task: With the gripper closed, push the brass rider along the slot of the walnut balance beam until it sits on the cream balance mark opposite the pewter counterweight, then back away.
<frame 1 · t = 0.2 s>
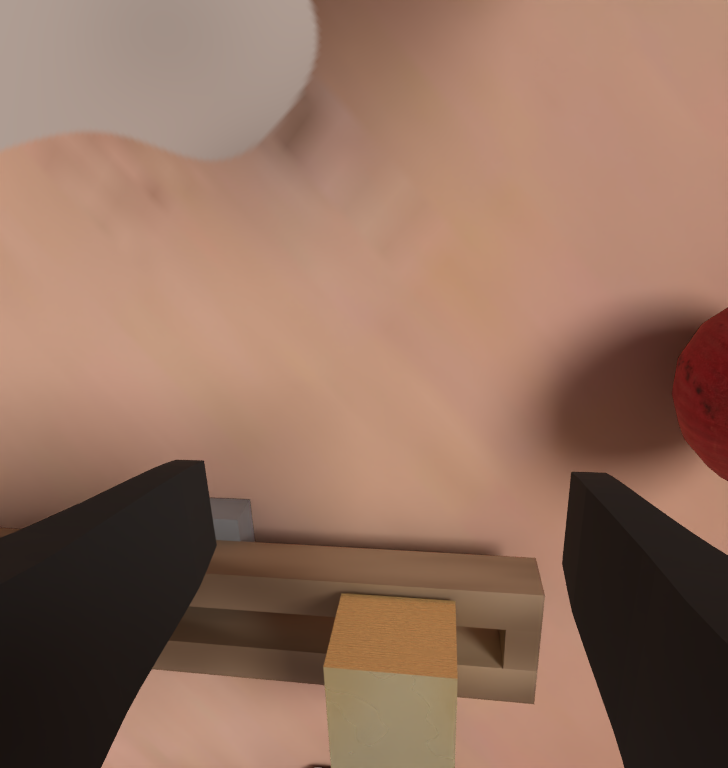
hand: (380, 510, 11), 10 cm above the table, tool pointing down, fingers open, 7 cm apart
onion: (725, 353, 19), on the table
beam: (204, 564, 25), on the table
rider: (396, 660, 19), point 4 cm above the table, slide at -9.0 cm
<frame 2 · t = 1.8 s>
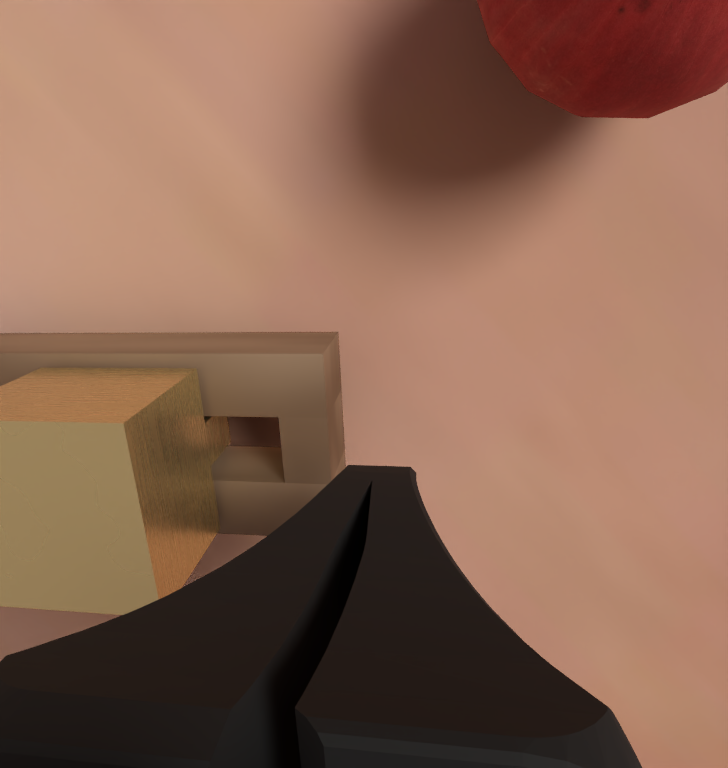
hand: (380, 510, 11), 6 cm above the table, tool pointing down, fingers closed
rider: (119, 463, 13), point 4 cm above the table, slide at -9.0 cm
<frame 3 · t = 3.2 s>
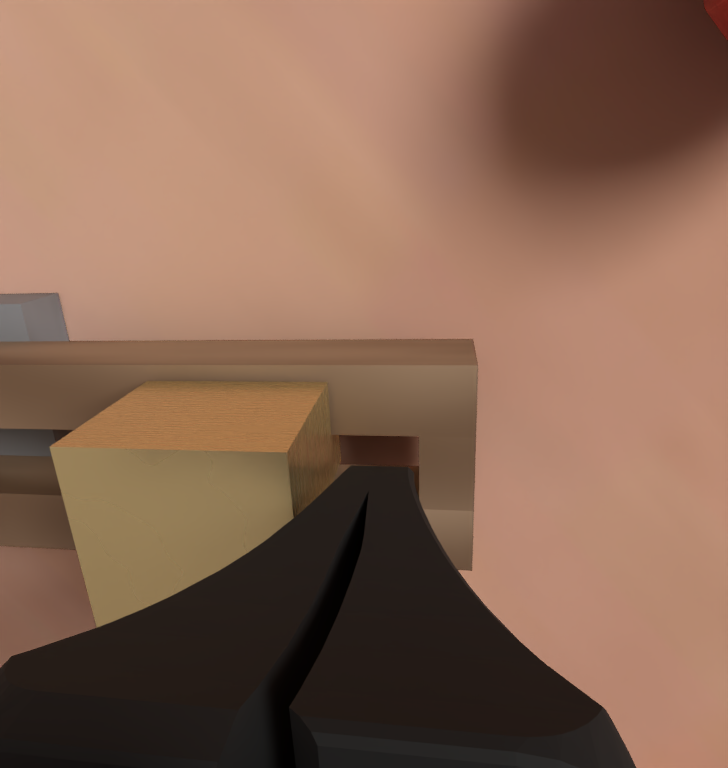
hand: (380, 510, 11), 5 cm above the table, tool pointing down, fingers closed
beam: (10, 406, 17), on the table
rider: (236, 488, 12), point 4 cm above the table, slide at -8.9 cm, touching gripper
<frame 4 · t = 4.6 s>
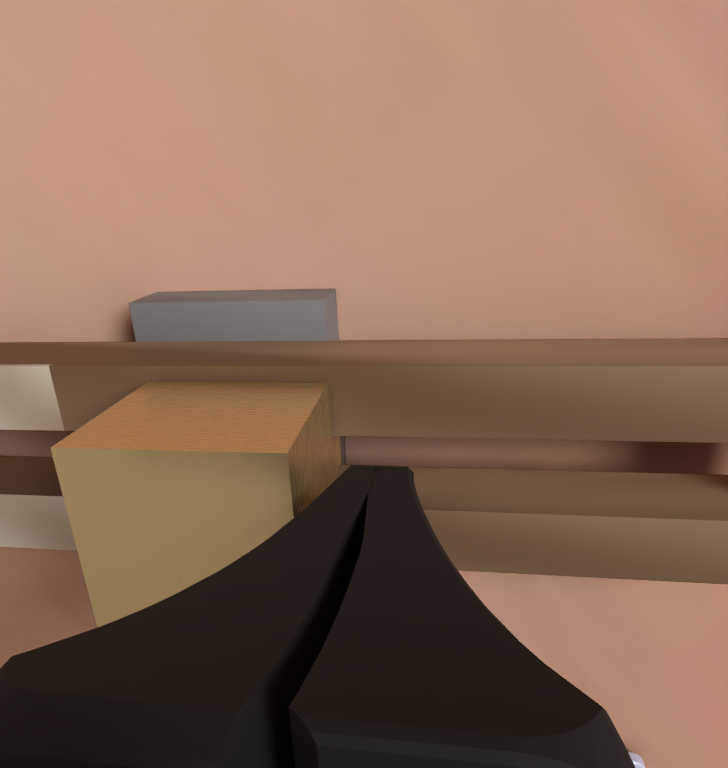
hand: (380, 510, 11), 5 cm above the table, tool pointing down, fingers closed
beam: (258, 410, 16), on the table
rider: (237, 489, 12), point 4 cm above the table, slide at -0.9 cm, touching gripper
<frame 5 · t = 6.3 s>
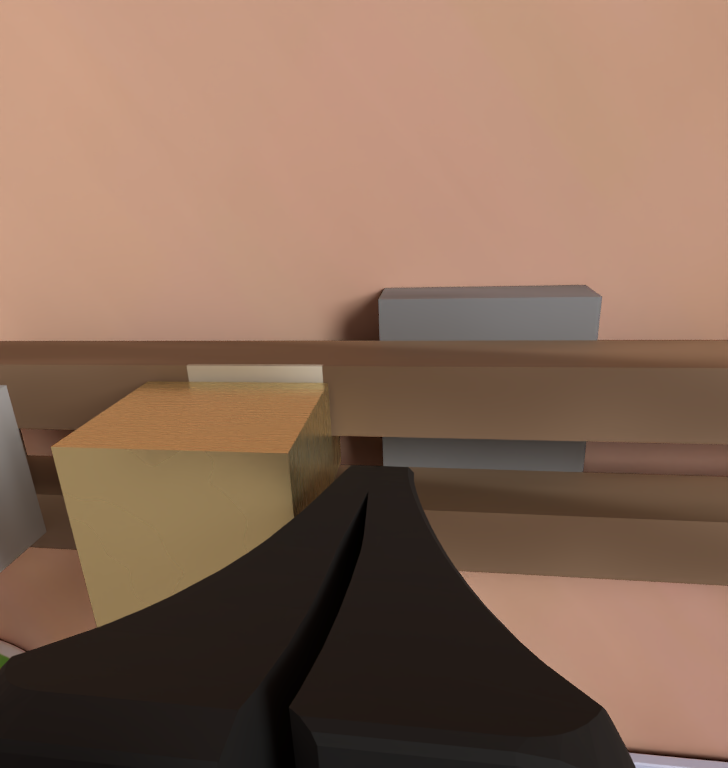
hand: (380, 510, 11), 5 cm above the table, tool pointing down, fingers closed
supplement bottle: (8, 681, 22), on the table
beam: (478, 413, 15), on the table
rider: (237, 489, 12), point 4 cm above the table, slide at 5.3 cm, touching gripper
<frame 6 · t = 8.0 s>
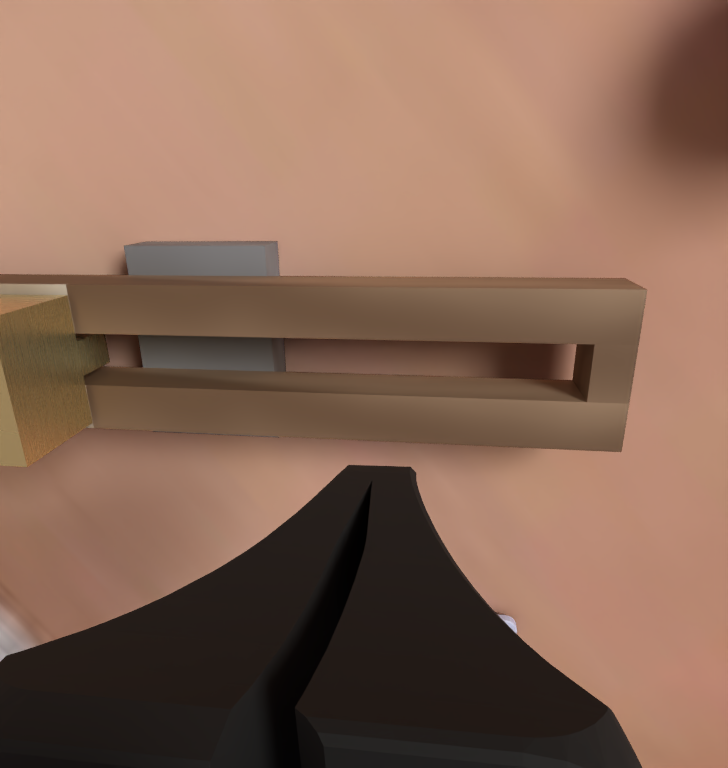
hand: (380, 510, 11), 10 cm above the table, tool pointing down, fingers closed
beam: (220, 335, 21), on the table
rider: (10, 366, 18), point 4 cm above the table, slide at 5.4 cm
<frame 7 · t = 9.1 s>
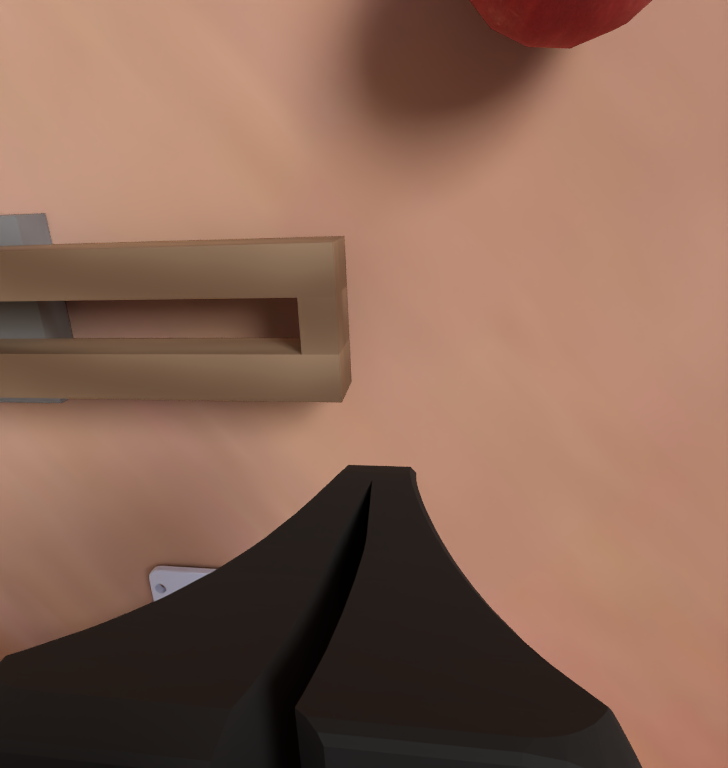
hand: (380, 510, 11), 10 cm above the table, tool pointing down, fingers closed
beam: (8, 306, 22), on the table
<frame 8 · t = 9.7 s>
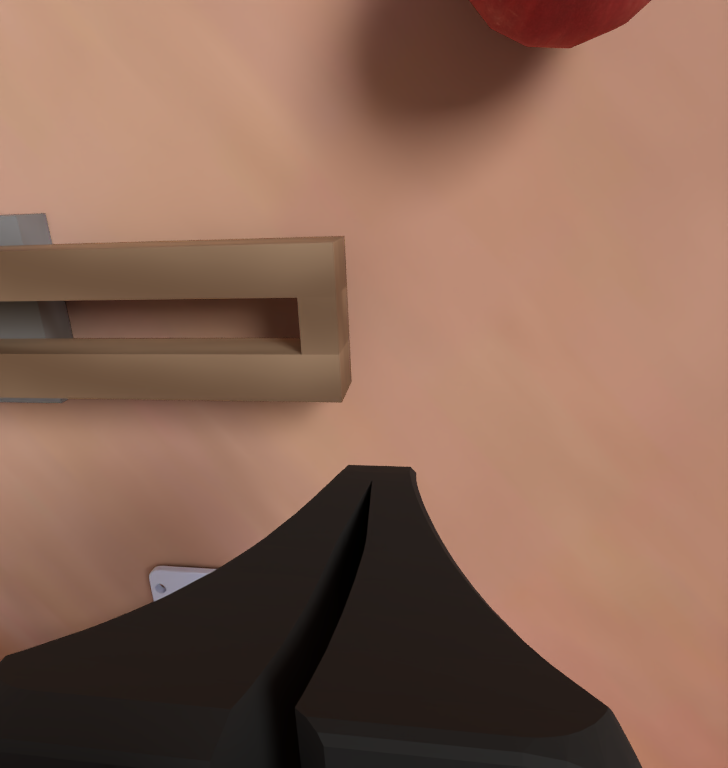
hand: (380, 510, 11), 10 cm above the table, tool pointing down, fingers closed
beam: (8, 306, 22), on the table
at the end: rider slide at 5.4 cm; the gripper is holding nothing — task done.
